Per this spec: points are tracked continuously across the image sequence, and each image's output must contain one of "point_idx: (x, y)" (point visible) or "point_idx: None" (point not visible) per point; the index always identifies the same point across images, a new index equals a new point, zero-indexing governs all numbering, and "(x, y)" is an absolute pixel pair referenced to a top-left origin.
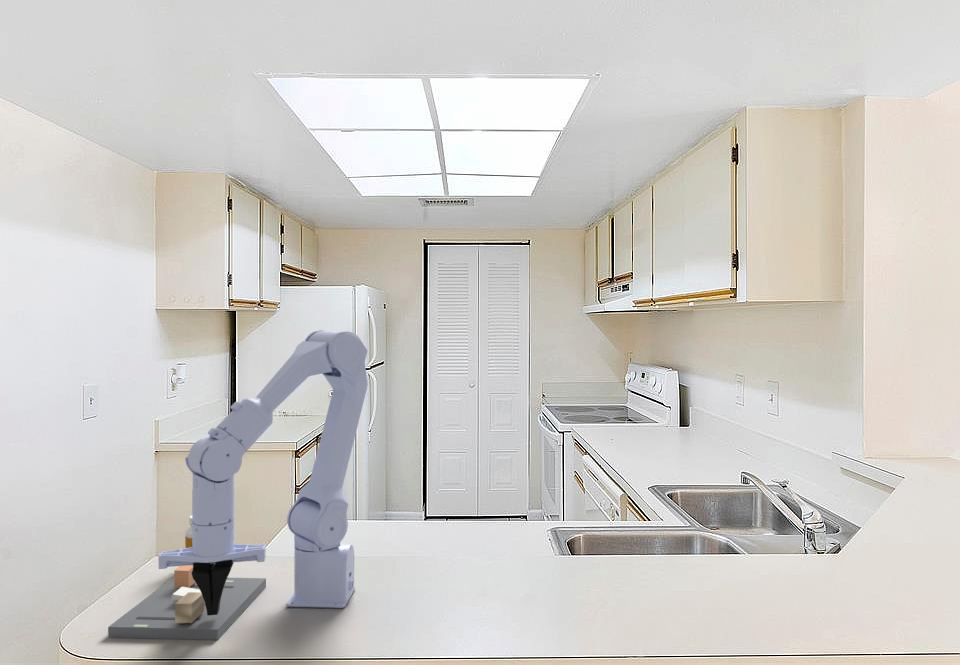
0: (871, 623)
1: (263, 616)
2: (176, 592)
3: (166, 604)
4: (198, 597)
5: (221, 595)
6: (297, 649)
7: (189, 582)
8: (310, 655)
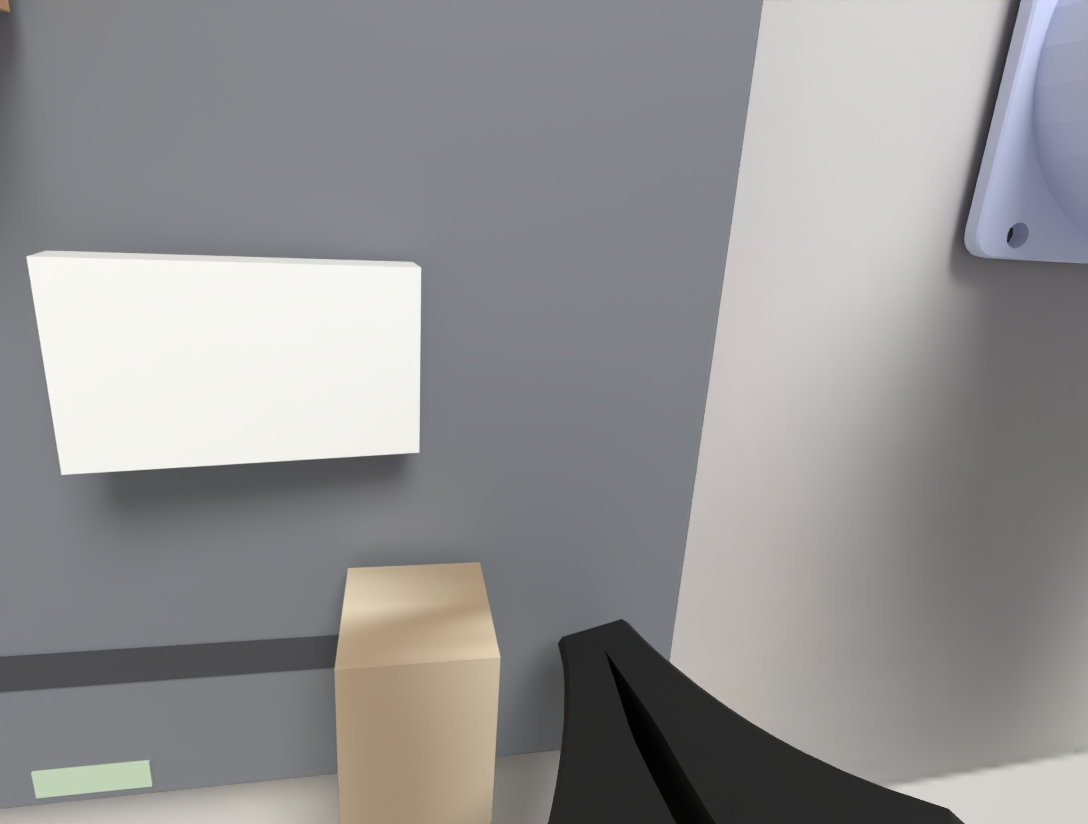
0: None
1: (827, 390)
2: (72, 421)
3: (30, 415)
4: (494, 751)
5: (673, 667)
6: (1019, 715)
7: None
8: (1067, 749)
